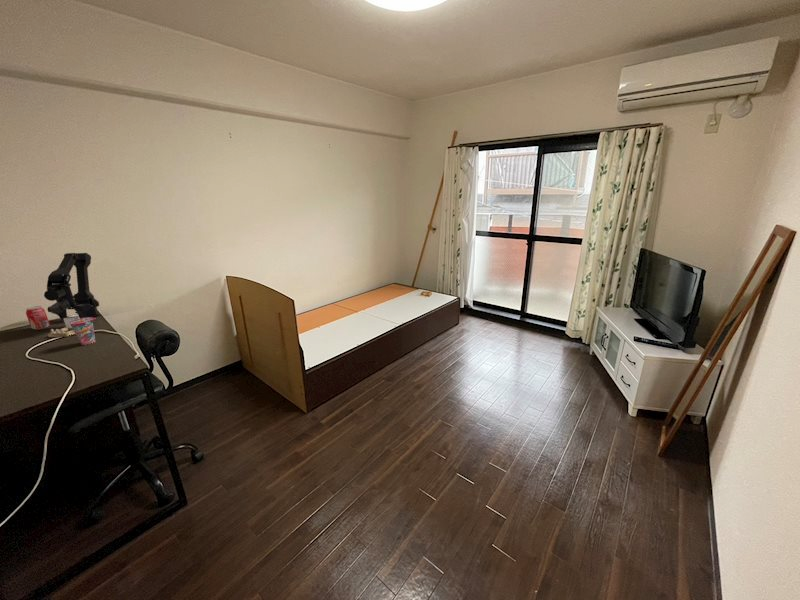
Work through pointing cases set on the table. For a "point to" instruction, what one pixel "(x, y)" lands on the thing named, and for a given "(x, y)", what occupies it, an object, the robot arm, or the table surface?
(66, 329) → the light brown u-shaped piece
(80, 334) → the cup
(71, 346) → the table surface
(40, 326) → the soda can
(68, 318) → the block
